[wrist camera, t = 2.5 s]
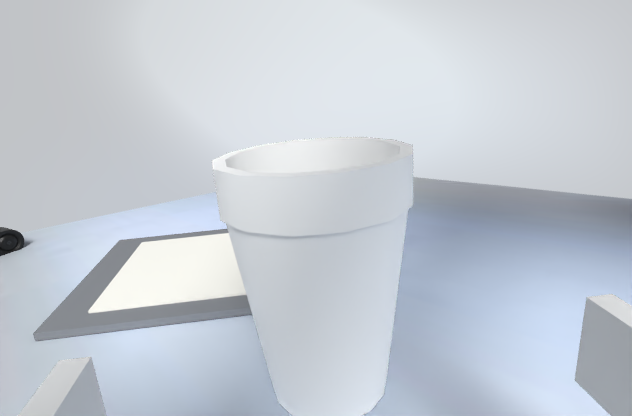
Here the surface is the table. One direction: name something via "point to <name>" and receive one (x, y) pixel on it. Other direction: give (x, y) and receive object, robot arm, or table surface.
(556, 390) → the table surface
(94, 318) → the picture frame
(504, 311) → the table surface
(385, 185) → the foam cup
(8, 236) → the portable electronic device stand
